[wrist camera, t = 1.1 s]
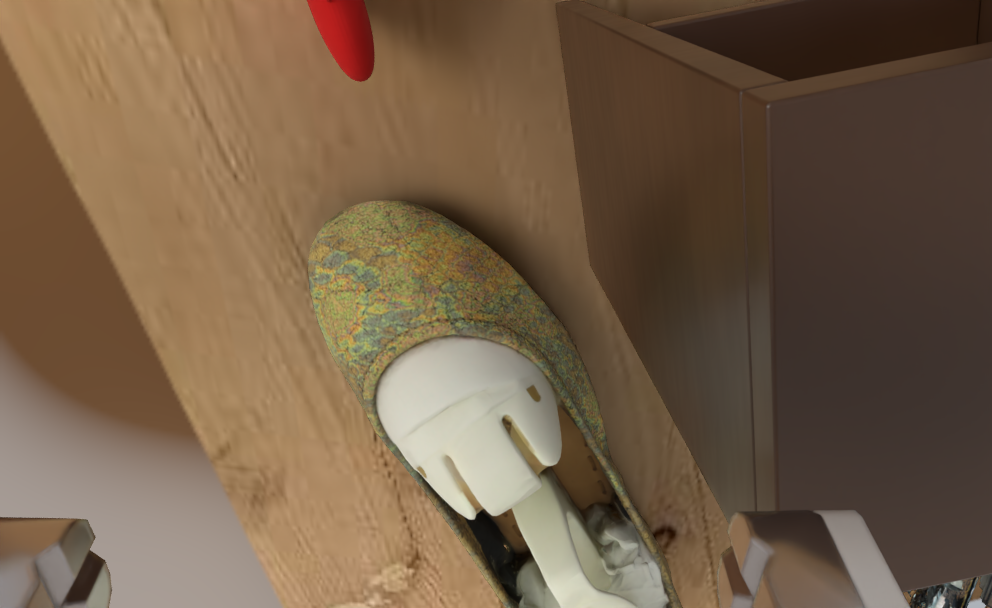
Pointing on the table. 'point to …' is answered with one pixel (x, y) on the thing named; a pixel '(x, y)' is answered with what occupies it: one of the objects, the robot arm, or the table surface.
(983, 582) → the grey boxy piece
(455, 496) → the ballet flat
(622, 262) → the brown shelf
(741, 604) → the robot arm
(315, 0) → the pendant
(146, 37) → the table surface
